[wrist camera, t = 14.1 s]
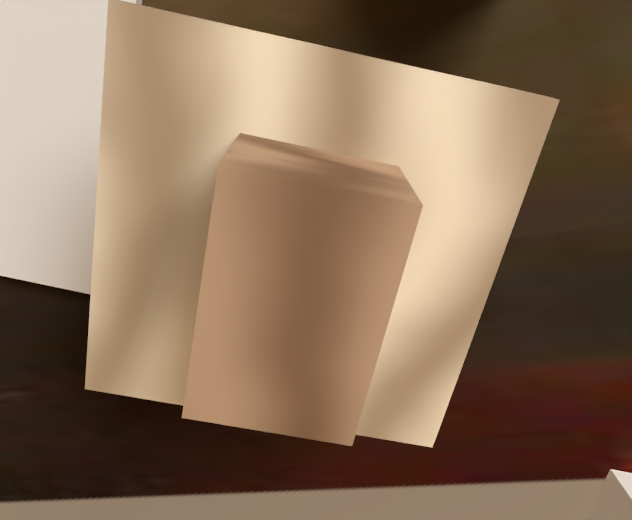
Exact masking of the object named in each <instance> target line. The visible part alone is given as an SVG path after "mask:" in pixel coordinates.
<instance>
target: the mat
mask: <svg viewBox="0 0 632 520" xmlns="http://www.w3.org/2000/svg"><path fill="white" fill-rule="evenodd" d="M121 1H125V2H130V3H134V4H139V5H142V0H121ZM107 11H108V0H0V276H5V277H10V278H14V279H19V280H24V281H29V282H33V283H38V284H43V285H48V286H53V287H57V288H62V289H67V290H72V291H77V292H81V293H86V294H91V279H92V262H93V245H94V229H95V212H96V195H97V179H98V162H99V145H100V128H101V112H102V95H103V78H104V61H105V45H106V28H107Z"/></svg>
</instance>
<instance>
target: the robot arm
mask: <svg viewBox="0 0 632 520" xmlns="http://www.w3.org/2000/svg"><path fill="white" fill-rule="evenodd" d="M586 520H632V473H628V472H623V471H618V470H613V469H610V471H609V473H608V475H607V477H606V479H605V481H604V484H603V486H602V488H601V490H600V492H599V494H598V496H597V498H596V500H595V503H594V504H593V506H592V509H591V511H590V513H589V515H588V517H587V519H586Z"/></svg>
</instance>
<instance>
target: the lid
mask: <svg viewBox="0 0 632 520" xmlns="http://www.w3.org/2000/svg"><path fill="white" fill-rule="evenodd" d="M558 103H559V100H558V99H555V98H551V97H548V96H543V95H539V94H534V93H530V92H525V91H521V90H516V89H512V88H508V87H503V86H499V85H494V84H490V83H485V82H481V81H476V80H472V79H468V78H463V77H459V76H454V75H450V74H445V73H441V72H436V71H432V70H428V69H423V68H419V67H414V66H410V65H405V64H401V63H396V62H392V61H388V60H383V59H379V58H374V57H370V56H365V55H361V54H356V53H352V52H348V51H343V50H339V49H334V48H330V47H325V46H321V45H316V44H312V43H308V42H303V41H299V40H294V39H290V38H285V37H281V36H276V35H272V34H268V33H263V32H259V31H254V30H250V29H245V28H241V27H236V26H232V25H228V24H223V23H219V22H214V21H210V20H205V19H201V18H196V17H192V16H188V15H183V14H179V13H174V12H170V11H165V10H161V9H156V8H152V7H148V6H143V5H139V4H134V3H130V2H125V1H121V0H108V11H107V28H106V45H105V61H104V78H103V95H102V112H101V128H100V145H99V162H98V179H97V195H96V212H95V229H94V245H93V262H92V279H91V296H90V312H89V329H88V346H87V362H86V379H85V389H87V390H93V391H99V392H105V393H111V394H117V395H123V396H129V397H135V398H141V399H147V400H153V401H159V402H165V403H171V404H177V405H183V412H182V418H186V419H192V420H198V421H204V422H210V423H216V424H222V425H228V426H234V427H240V428H246V429H252V430H258V431H264V432H270V433H276V434H282V435H288V436H294V437H300V438H306V439H312V440H318V441H324V442H330V443H336V444H342V445H348V446H352V444H353V441H354V438H355V434H356V435H362V436H367V437H373V438H379V439H385V440H391V441H397V442H403V443H409V444H415V445H421V446H427V447H433V445H434V442H435V439H436V436H437V434H438V431H439V428H440V425H441V423H442V420H443V417H444V414H445V412H446V409H447V406H448V404H449V401H450V398H451V395H452V393H453V390H454V387H455V384H456V382H457V379H458V376H459V373H460V371H461V368H462V365H463V363H464V360H465V357H466V354H467V352H468V349H469V346H470V343H471V341H472V338H473V335H474V332H475V330H476V327H477V324H478V322H479V319H480V316H481V313H482V311H483V308H484V305H485V302H486V300H487V297H488V294H489V291H490V289H491V286H492V283H493V281H494V278H495V275H496V272H497V270H498V267H499V264H500V261H501V259H502V256H503V253H504V250H505V248H506V245H507V242H508V240H509V237H510V234H511V231H512V229H513V226H514V223H515V220H516V218H517V215H518V212H519V209H520V207H521V204H522V201H523V199H524V196H525V193H526V190H527V188H528V185H529V182H530V179H531V177H532V174H533V171H534V168H535V166H536V163H537V160H538V158H539V155H540V152H541V149H542V147H543V144H544V141H545V138H546V136H547V133H548V130H549V127H550V125H551V122H552V119H553V116H554V114H555V111H556V108H557V106H558Z"/></svg>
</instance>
